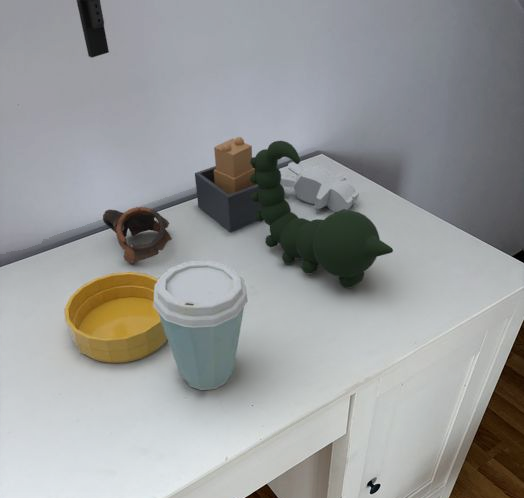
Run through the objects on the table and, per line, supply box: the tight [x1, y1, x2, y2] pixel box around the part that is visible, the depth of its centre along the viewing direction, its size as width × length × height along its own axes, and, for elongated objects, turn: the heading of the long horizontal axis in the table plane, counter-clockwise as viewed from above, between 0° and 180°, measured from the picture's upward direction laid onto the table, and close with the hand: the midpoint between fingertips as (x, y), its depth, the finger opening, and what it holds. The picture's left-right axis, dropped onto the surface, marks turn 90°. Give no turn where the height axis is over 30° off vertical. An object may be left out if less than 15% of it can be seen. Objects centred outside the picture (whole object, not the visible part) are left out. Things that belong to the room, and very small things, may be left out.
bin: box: [194, 165, 262, 233], centre depth 98 cm, size 10×10×7 cm
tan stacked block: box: [213, 136, 255, 194], centre depth 96 cm, size 5×5×12 cm
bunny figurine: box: [280, 161, 360, 213], centre depth 101 cm, size 10×5×15 cm
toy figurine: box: [250, 140, 394, 289], centre depth 82 cm, size 9×19×25 cm
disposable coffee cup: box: [153, 260, 249, 391], centre depth 67 cm, size 11×11×15 cm
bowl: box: [64, 271, 168, 364], centre depth 77 cm, size 14×14×4 cm
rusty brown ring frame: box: [102, 206, 173, 265], centre depth 91 cm, size 12×10×8 cm
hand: (69, 44), depth 78 cm, fingers open, 13 cm apart
